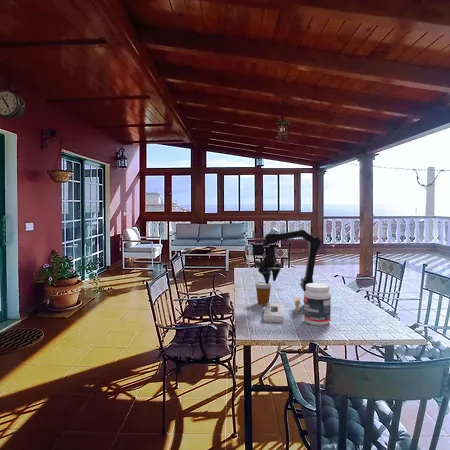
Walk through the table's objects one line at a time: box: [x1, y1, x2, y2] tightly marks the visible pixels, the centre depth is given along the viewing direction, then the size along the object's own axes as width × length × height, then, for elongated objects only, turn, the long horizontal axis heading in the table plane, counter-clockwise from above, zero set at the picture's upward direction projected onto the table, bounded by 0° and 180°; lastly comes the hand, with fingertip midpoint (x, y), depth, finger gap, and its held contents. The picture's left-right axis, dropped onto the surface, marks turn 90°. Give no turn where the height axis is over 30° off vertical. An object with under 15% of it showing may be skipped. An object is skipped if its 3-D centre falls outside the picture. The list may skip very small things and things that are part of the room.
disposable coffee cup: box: [254, 281, 272, 306], centre depth 209 cm, size 10×10×12 cm
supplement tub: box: [303, 282, 332, 327], centre depth 175 cm, size 13×13×18 cm
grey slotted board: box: [263, 302, 285, 324], centre depth 187 cm, size 10×24×3 cm, turn 171°
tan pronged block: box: [294, 297, 301, 315], centre depth 192 cm, size 2×7×7 cm, turn 171°
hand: (270, 282), depth 204 cm, fingers open, 9 cm apart
